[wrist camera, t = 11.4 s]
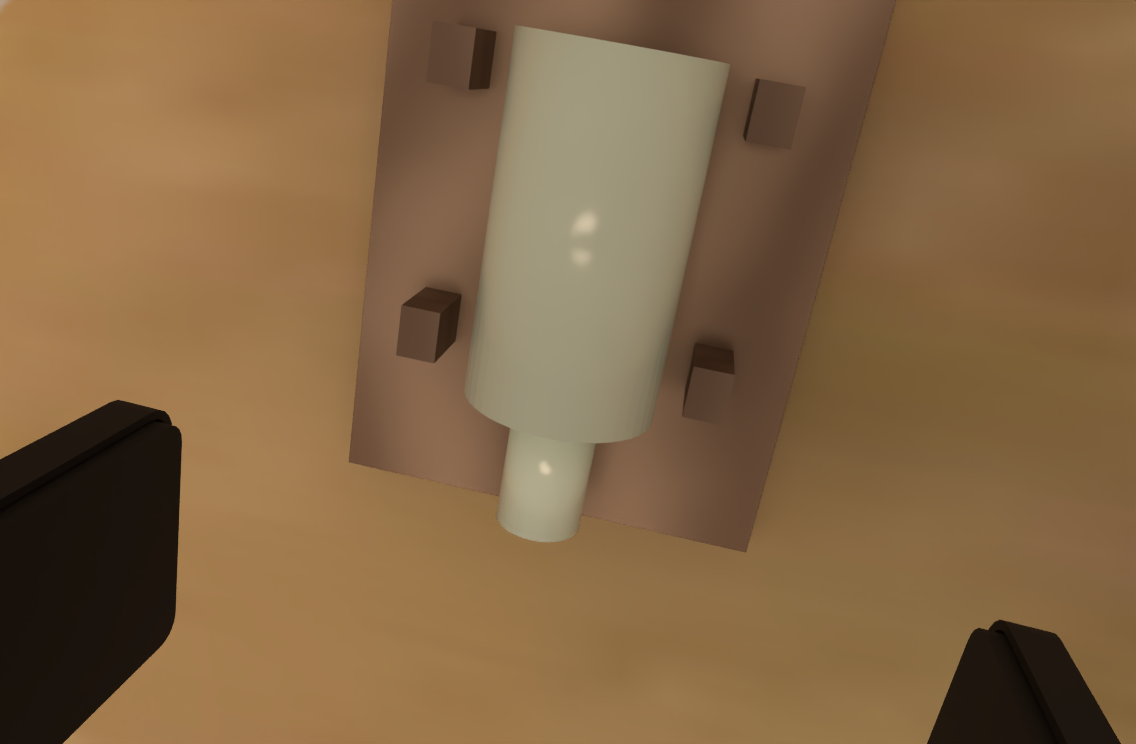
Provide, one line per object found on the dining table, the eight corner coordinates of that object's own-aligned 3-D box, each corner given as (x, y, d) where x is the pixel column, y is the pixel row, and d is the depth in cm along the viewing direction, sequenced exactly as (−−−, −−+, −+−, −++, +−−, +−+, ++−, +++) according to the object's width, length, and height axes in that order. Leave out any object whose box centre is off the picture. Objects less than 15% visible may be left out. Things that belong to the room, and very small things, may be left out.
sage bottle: (531, 29, 26) (497, 20, 21) (723, 64, 26) (739, 64, 20) (467, 464, 31) (427, 547, 25) (629, 496, 30) (623, 587, 25)
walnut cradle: (895, -21, 25) (921, -35, 22) (745, 537, 31) (748, 591, 28) (413, -102, 26) (372, -126, 23) (359, 450, 32) (320, 492, 29)
